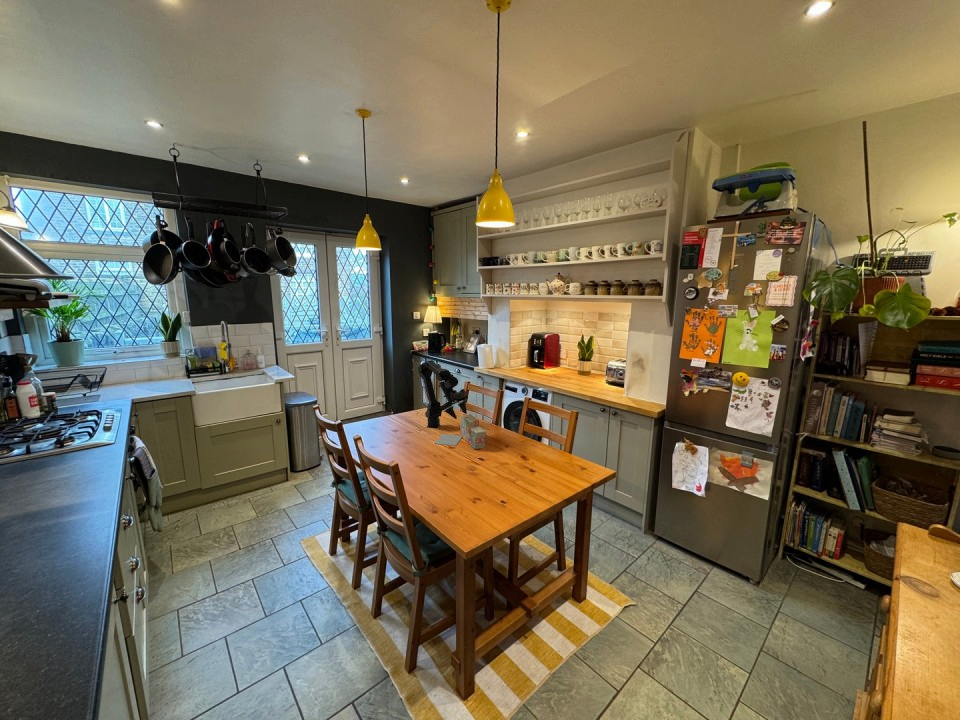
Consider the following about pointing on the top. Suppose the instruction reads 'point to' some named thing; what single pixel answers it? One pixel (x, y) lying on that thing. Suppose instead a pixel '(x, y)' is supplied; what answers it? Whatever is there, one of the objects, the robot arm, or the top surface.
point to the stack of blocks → (472, 431)
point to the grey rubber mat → (448, 439)
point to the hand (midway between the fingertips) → (461, 416)
